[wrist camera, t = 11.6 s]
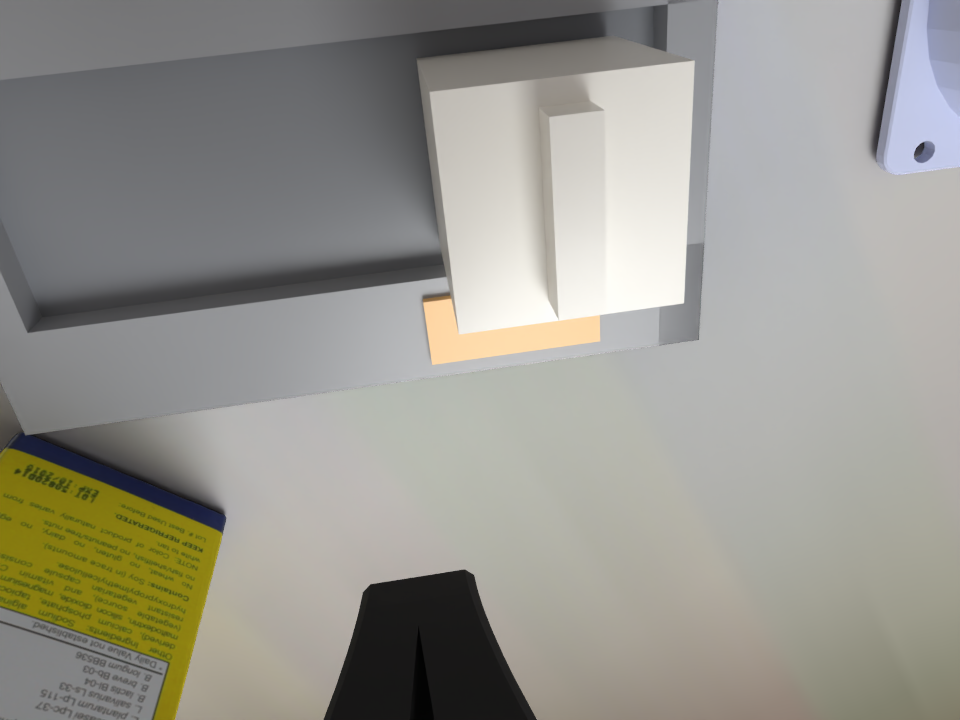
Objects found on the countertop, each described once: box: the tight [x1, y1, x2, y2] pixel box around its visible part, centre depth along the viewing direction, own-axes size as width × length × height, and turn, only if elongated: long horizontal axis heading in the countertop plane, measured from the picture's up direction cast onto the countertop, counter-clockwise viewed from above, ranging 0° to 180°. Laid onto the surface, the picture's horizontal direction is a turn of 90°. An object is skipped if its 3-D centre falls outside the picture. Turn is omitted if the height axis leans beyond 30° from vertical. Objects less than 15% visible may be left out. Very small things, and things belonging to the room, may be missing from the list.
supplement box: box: [0, 432, 226, 720], centre depth 16 cm, size 6×6×11 cm
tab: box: [416, 36, 695, 334], centre depth 13 cm, size 4×4×5 cm
